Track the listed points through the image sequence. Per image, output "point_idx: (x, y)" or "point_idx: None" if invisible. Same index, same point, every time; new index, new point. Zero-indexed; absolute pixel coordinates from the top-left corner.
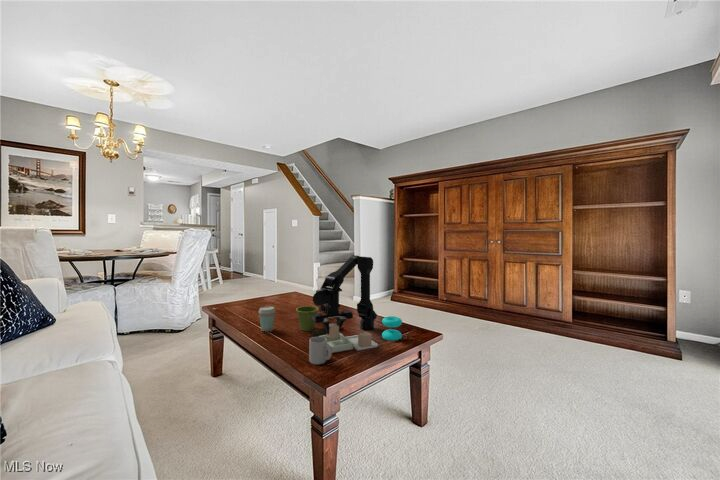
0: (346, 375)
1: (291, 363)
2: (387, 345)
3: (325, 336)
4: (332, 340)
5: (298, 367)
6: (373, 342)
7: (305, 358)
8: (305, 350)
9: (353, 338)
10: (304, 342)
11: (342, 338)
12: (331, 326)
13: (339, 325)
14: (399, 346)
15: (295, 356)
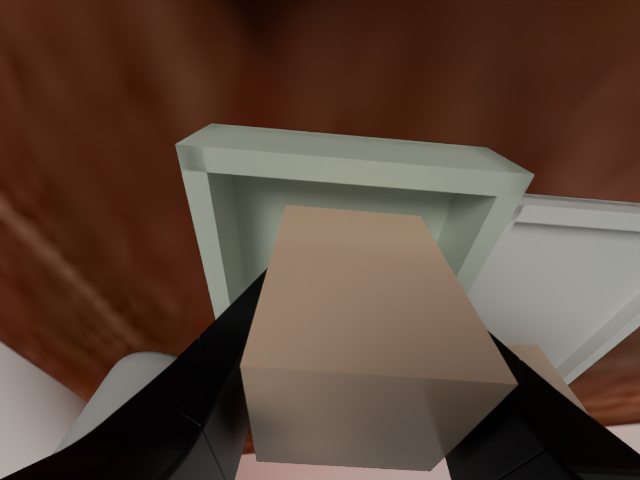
0: (250, 450)
1: (17, 351)
2: (601, 385)
3: (279, 171)
4: (358, 194)
5: (68, 383)
6: (566, 376)
7: (91, 338)
8: (71, 250)
9: (572, 241)
10: (6, 30)
11: None
12: (291, 458)
13: (449, 466)
14: (625, 408)
15: (13, 299)
